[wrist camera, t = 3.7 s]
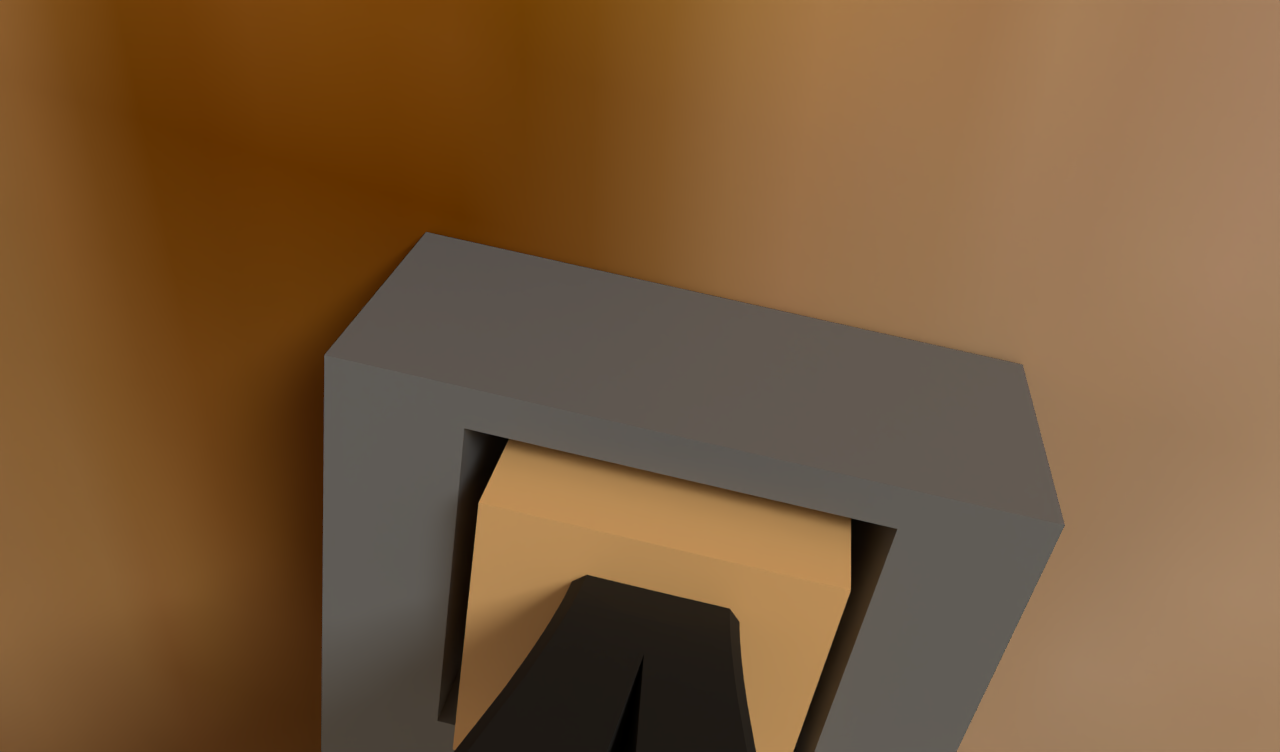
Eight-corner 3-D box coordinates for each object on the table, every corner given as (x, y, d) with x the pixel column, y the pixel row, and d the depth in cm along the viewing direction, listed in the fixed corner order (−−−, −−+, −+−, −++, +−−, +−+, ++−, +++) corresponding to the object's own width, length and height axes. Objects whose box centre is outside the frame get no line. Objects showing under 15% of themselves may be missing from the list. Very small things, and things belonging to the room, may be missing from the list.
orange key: (517, 579, 12) (452, 749, 10) (548, 354, 11) (478, 502, 9) (780, 643, 12) (766, 827, 10) (850, 422, 11) (850, 590, 9)
